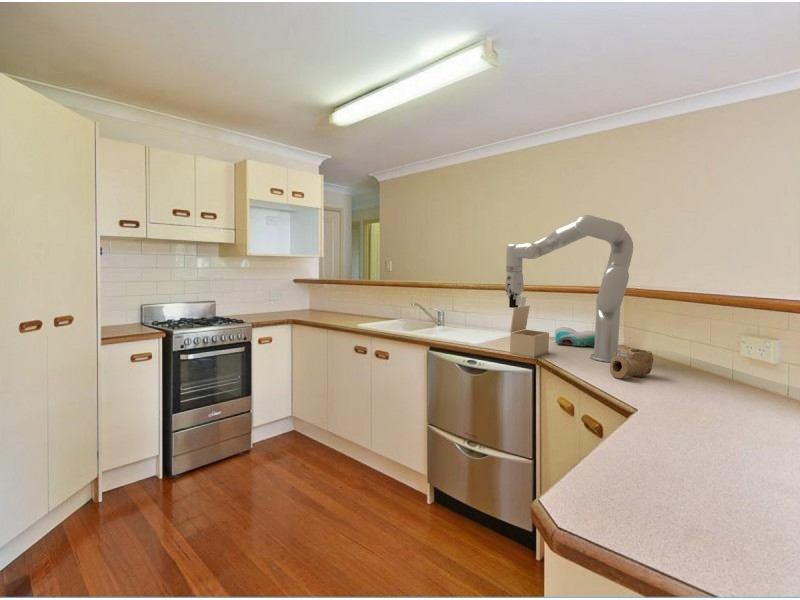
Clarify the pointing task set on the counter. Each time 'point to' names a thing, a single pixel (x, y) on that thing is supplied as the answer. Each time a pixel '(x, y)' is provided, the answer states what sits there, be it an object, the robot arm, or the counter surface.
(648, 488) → the counter surface
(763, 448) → the counter surface
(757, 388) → the counter surface
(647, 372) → the pipe
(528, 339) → the carton
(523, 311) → the lid flap
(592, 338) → the athletic shoe
